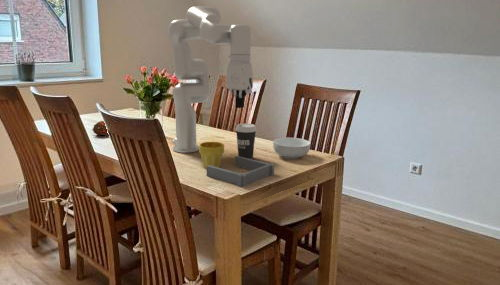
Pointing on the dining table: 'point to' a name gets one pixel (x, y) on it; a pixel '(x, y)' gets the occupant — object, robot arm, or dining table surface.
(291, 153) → the cereal bowl
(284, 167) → the dining table surface
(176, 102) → the robot arm
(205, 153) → the plant pot
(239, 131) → the coffee cup
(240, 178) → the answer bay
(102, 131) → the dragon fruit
